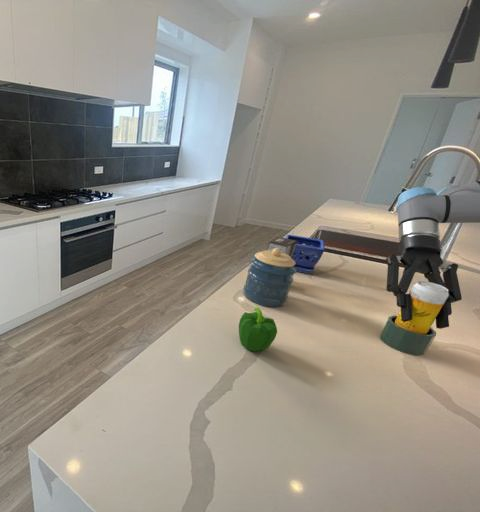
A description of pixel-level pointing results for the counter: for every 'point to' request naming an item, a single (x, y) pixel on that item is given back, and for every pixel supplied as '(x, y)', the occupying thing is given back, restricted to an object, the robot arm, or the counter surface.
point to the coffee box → (283, 245)
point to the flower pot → (306, 253)
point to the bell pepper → (256, 331)
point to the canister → (269, 278)
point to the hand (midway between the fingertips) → (424, 323)
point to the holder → (406, 338)
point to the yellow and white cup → (424, 306)
